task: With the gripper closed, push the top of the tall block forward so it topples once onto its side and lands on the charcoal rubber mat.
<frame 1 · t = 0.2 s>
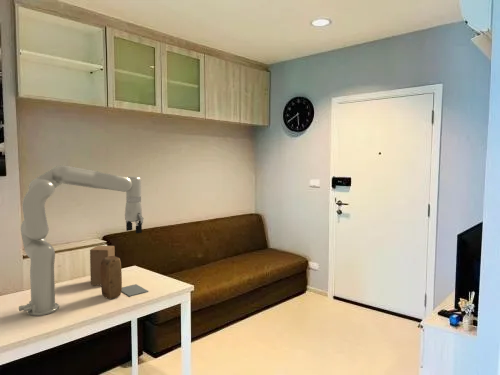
hand: (134, 231, 195), 31 cm above the table, fingers open, 9 cm apart
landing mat: (132, 290, 193), on the table
wooden block: (103, 282, 205), on the table
block: (110, 296, 185), on the table
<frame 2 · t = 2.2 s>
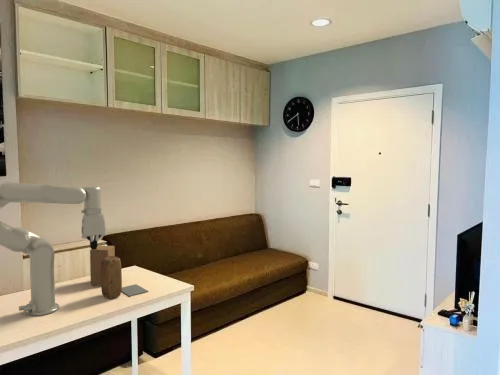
hand: (93, 249, 178), 26 cm above the table, fingers closed
nothing on the table moved.
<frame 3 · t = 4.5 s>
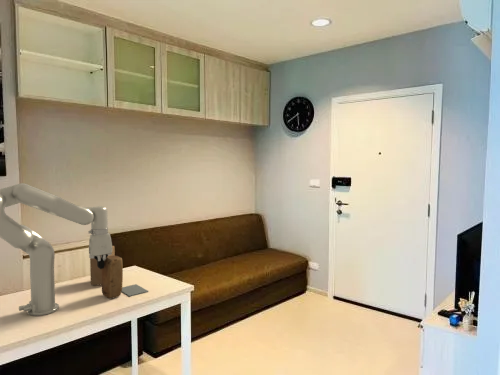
hand: (101, 268, 181), 15 cm above the table, fingers closed
block: (110, 296, 185), on the table, touching gripper
everything else where it was.
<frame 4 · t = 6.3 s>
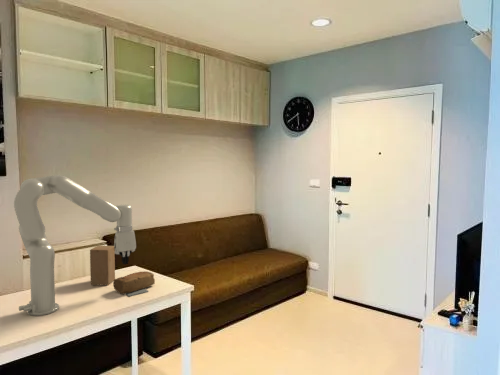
hand: (125, 263, 189), 15 cm above the table, fingers closed
block: (117, 286, 187), point 4 cm above the table, touching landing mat
everything else where it was.
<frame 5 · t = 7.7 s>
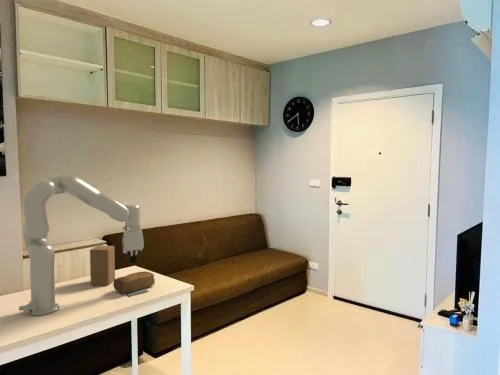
hand: (133, 262, 192), 15 cm above the table, fingers closed
nothing on the table moved.
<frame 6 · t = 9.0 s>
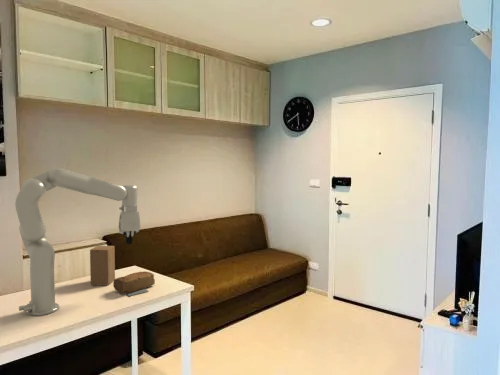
hand: (129, 243, 190), 25 cm above the table, fingers closed
nothing on the table moved.
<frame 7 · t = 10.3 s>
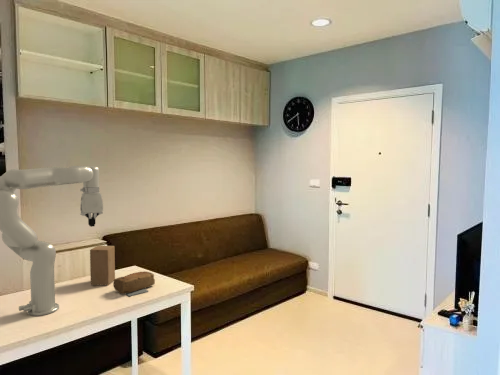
hand: (91, 226, 187), 35 cm above the table, fingers closed
nothing on the table moved.
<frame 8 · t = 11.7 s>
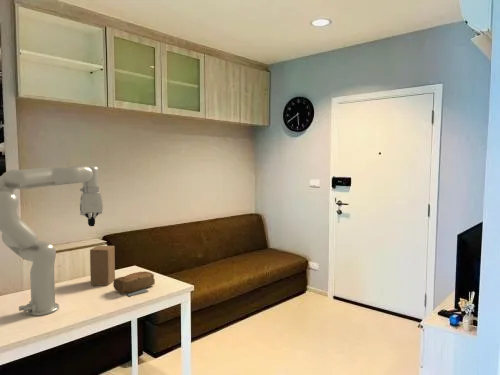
hand: (91, 225, 187), 35 cm above the table, fingers closed
nothing on the table moved.
at the end: block tilted 91°; block inside the target area (2.9 cm from its centre), point 4.3 cm above the table; block touching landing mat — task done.
